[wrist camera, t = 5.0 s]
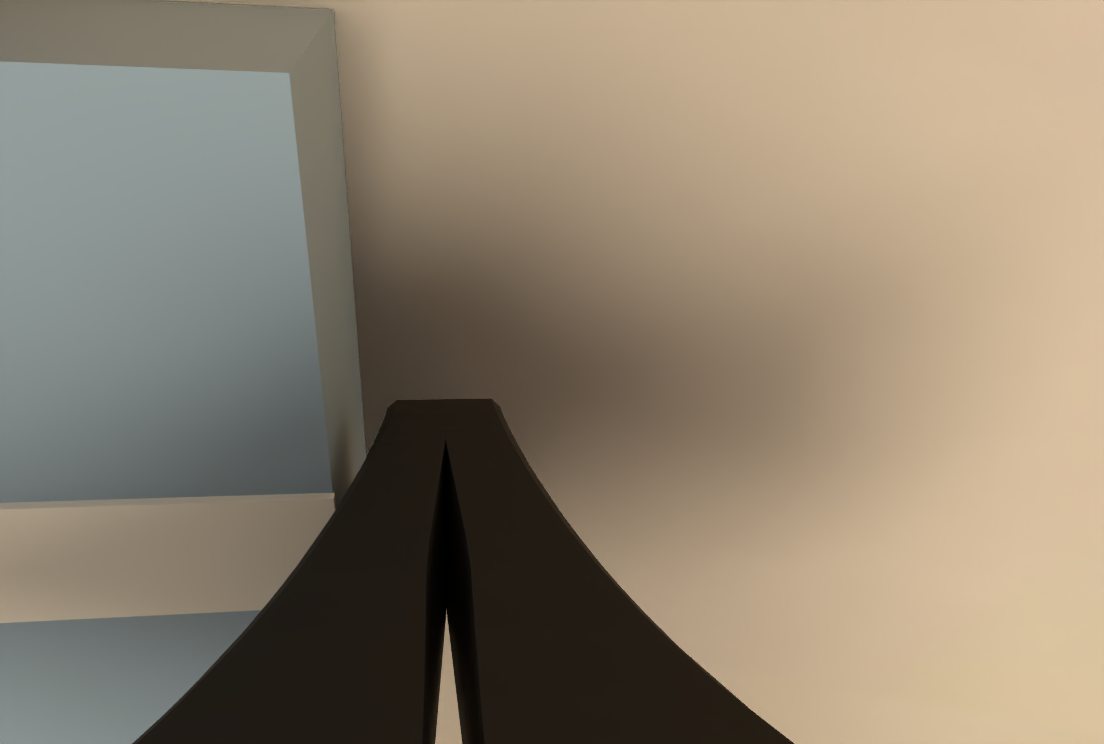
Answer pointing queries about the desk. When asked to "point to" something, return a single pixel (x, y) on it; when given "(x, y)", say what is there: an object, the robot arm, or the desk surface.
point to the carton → (163, 344)
